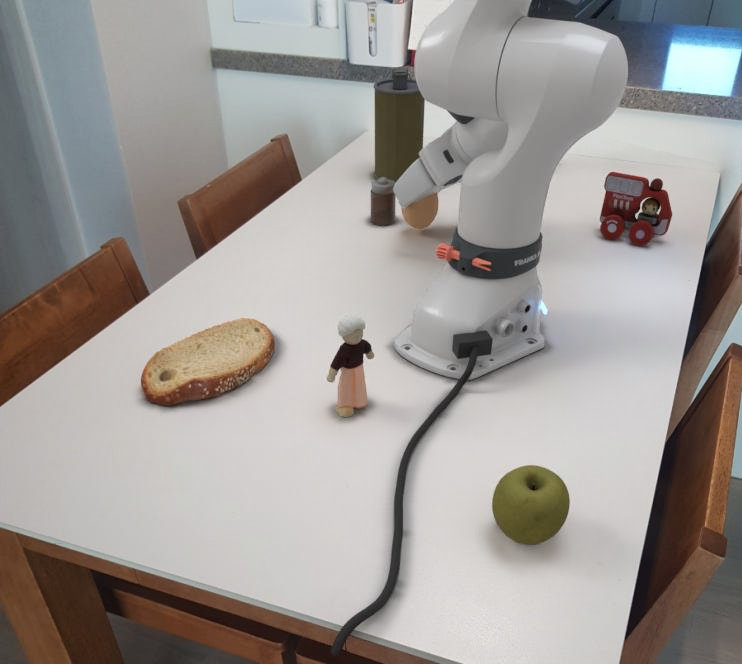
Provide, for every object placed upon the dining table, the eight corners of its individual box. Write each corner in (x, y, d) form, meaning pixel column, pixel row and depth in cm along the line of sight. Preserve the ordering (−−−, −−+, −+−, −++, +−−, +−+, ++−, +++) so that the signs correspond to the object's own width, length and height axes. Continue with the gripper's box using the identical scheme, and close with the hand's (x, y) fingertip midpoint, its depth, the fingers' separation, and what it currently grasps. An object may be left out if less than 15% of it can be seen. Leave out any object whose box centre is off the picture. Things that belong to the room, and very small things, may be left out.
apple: (480, 548, 76) (487, 496, 72) (498, 499, 82) (506, 448, 77) (554, 568, 74) (566, 515, 70) (568, 516, 80) (580, 464, 75)
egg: (394, 231, 135) (395, 179, 129) (409, 218, 139) (410, 167, 133) (429, 237, 133) (431, 185, 127) (442, 224, 137) (445, 172, 131)
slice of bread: (272, 328, 110) (270, 304, 108) (282, 395, 97) (280, 371, 95) (147, 339, 108) (142, 315, 106) (140, 410, 95) (134, 385, 92)
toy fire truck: (659, 250, 130) (675, 189, 124) (589, 236, 135) (601, 176, 128) (668, 236, 135) (684, 177, 128) (601, 223, 140) (613, 165, 133)
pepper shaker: (384, 227, 138) (384, 183, 133) (365, 221, 141) (365, 177, 135) (400, 220, 141) (401, 176, 135) (381, 214, 143) (382, 171, 138)
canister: (423, 184, 155) (428, 76, 142) (373, 184, 155) (373, 76, 142) (421, 166, 163) (425, 62, 150) (374, 166, 163) (373, 62, 150)
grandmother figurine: (349, 425, 92) (347, 333, 84) (324, 416, 94) (319, 324, 85) (382, 395, 97) (383, 306, 89) (357, 387, 99) (356, 298, 90)
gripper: (492, 119, 127) (443, 167, 138) (416, 149, 115) (369, 198, 127) (511, 153, 127) (461, 197, 139) (438, 185, 116) (389, 231, 128)
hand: (417, 198), depth 133 cm, fingers closed on egg, 6 cm apart
